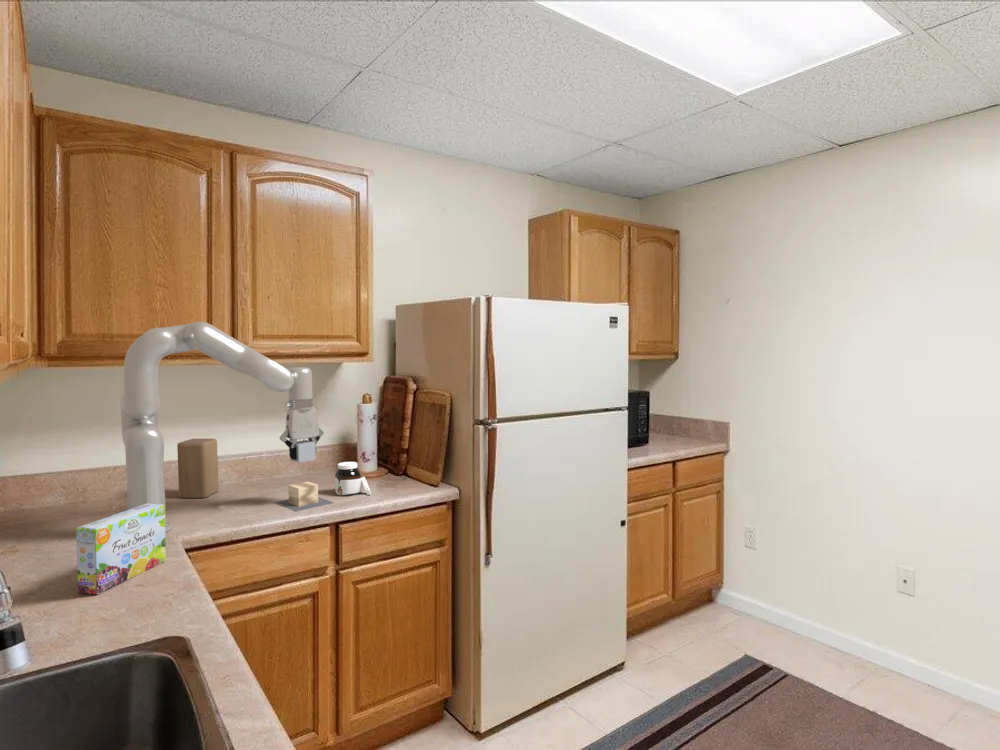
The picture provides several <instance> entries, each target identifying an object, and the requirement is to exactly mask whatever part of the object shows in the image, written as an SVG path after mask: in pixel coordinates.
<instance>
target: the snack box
mask: <svg viewBox="0 0 1000 750" xmlns="http://www.w3.org/2000/svg"><path fill="white" fill-rule="evenodd" d="M165 509H166V503H165V504H148V503H147V504H144V505H141V506H138V507H135V508H132V509H130V510H128V509H127V510H124V511H121V512H118V513H115V514H113V515H110V516H107V517H104V518H101V519H98V520H95V521H92V522H89V523H87V524H84V525H83V524H82V525H81V526H78V527H76V528H75V531H76V534H75V537H76V568H77V569H76V570H77V572H76V573H77V576H76V577H77V593H78V594H83V593H90V594H97V593H100V592H102V591H104V590H106V589H108V588H110V587H112V588H114V587H116V586H118V585H120V584H122V583H124V582H126V581H128V579H129V580H131V579H132V577H133V578H135V577H137V576H139V575H140V574H142V573H145V572H147V571H149V570H151V569H153V568H155V567H157V566H159V565H161V564H163V563H162V562H164V563H166V561H167V553H166V552H167V551H166V549H167V548H166V547H167V546H166V545H167V543H166V532H165ZM160 563H161V564H160ZM158 564H159V565H158ZM156 565H157V566H156ZM154 566H155V567H154ZM130 578H131V579H130ZM119 583H120V584H119ZM117 584H118V585H117ZM115 585H116V586H115ZM113 586H114V587H113ZM110 589H111V588H110ZM108 590H109V589H108ZM106 591H107V590H106ZM104 592H105V591H104ZM102 593H103V592H102ZM90 594H89V595H90ZM100 594H101V593H100Z"/></svg>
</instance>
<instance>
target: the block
mask: <svg viewBox="0 0 1000 750" xmlns="http://www.w3.org/2000/svg"><path fill="white" fill-rule="evenodd" d="M176 447H177V448H176V449H177V451H176V452H177V469H178V471H177V473H178V475H177V476H178V497H179V498H182V499H206V498H207V497H210V496H212V495H214V494H217V493H218V492H219V488H220V487H219V485H220V484H219V463H218V462H219V461H218V440H217V439H216V438H190V439H187V440H183V441H180V442H178V443H177V446H176Z"/></svg>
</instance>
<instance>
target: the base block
mask: <svg viewBox="0 0 1000 750" xmlns="http://www.w3.org/2000/svg"><path fill="white" fill-rule="evenodd" d="M287 488H288V499H289V503H291V504H294V505H296V506H304V505H308V504H313V503H318V497H319V485H318V484H316V483H313V482H310V481H303V482H298V483H293V484H289V485H288V487H287Z"/></svg>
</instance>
